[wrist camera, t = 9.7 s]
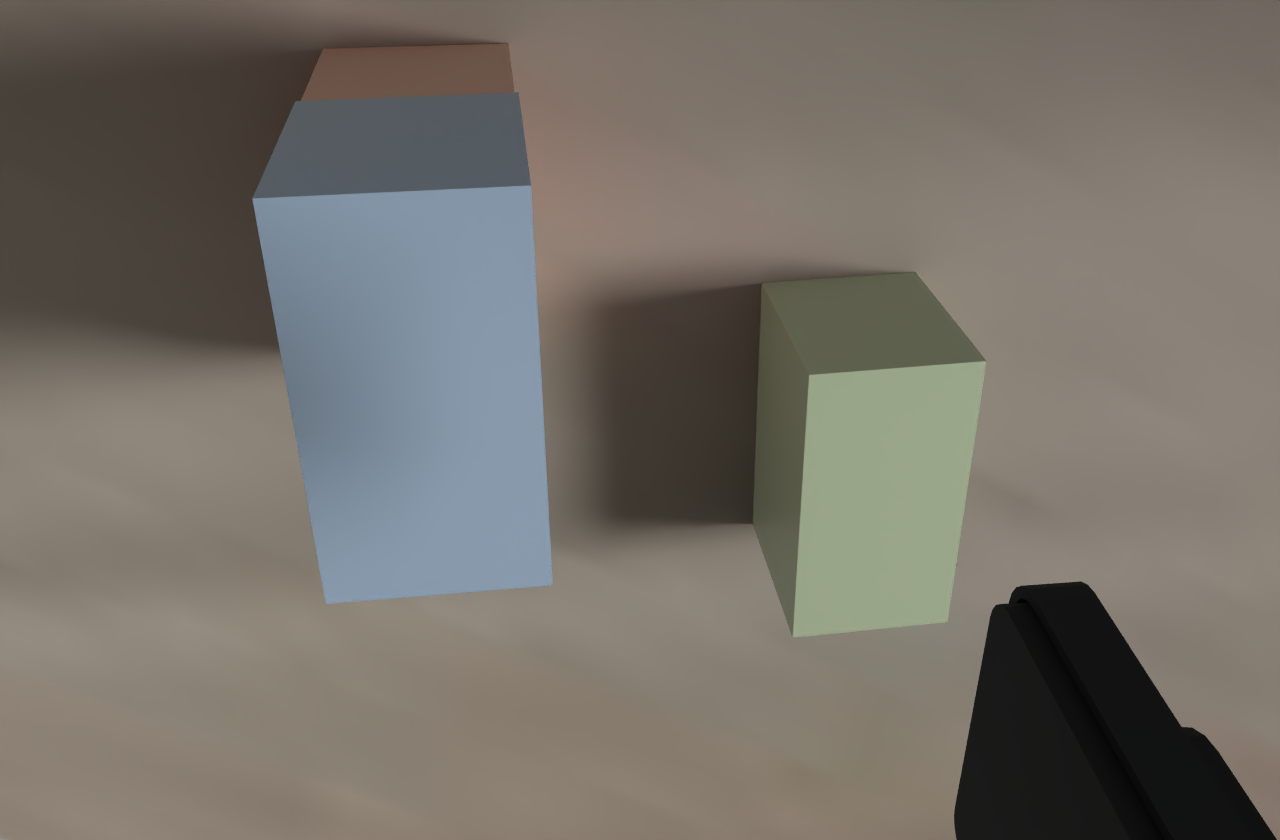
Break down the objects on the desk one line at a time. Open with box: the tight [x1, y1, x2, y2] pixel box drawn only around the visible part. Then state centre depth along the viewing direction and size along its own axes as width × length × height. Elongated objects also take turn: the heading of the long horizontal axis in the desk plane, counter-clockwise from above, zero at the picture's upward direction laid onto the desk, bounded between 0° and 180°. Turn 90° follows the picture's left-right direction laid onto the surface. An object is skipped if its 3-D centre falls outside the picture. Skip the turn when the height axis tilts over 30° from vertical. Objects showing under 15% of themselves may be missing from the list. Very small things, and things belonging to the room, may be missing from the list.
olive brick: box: [753, 272, 986, 637], centre depth 24 cm, size 3×6×4 cm, turn 1°
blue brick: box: [252, 93, 553, 604], centre depth 17 cm, size 3×6×4 cm, turn 0°
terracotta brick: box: [301, 43, 514, 101], centre depth 21 cm, size 3×6×4 cm, turn 0°
